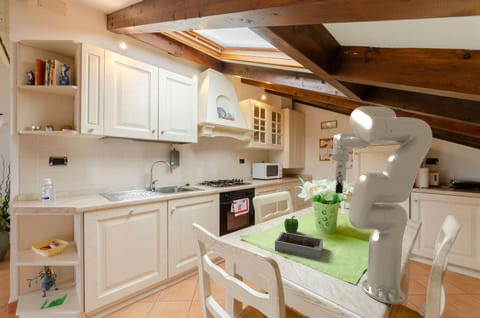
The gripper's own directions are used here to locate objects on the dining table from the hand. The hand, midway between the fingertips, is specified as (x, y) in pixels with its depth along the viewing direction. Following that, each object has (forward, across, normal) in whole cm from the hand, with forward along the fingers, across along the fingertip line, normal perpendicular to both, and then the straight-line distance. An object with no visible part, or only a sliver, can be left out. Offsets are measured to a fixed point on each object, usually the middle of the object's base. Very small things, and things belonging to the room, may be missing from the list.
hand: (339, 191), depth 113 cm
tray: (+28, -14, +17) cm, 36 cm away
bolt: (+28, -13, +17) cm, 35 cm away
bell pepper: (+28, +7, +25) cm, 39 cm away
